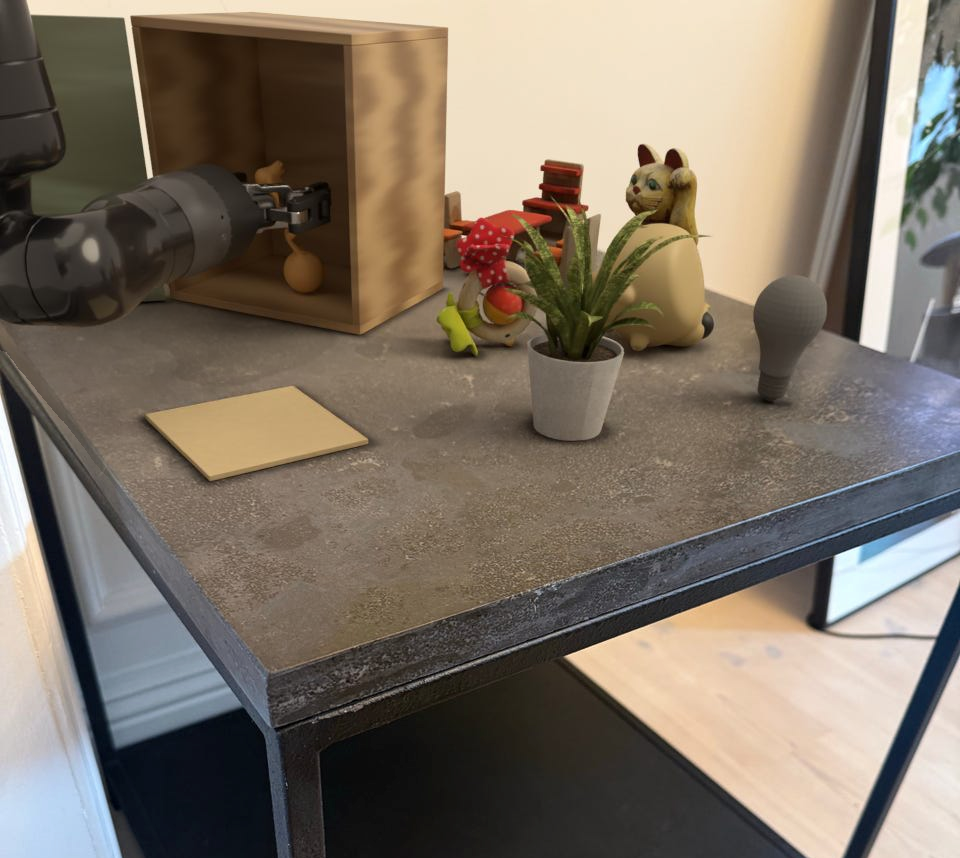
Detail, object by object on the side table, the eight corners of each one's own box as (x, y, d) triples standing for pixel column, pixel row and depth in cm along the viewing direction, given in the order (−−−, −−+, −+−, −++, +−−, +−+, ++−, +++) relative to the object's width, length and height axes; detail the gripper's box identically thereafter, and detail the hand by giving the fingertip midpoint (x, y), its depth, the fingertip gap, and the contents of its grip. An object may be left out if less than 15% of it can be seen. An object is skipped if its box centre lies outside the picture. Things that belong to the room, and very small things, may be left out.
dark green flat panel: (-75, 294, 91) (-159, 4, 78) (157, 281, 98) (117, 13, 85) (-80, 315, 86) (-171, 8, 73) (165, 300, 93) (124, 18, 80)
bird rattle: (494, 355, 91) (411, 322, 87) (547, 243, 86) (461, 201, 82) (516, 379, 86) (429, 345, 82) (573, 261, 81) (484, 218, 77)
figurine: (333, 303, 93) (326, 168, 86) (271, 306, 91) (259, 169, 84) (317, 279, 99) (310, 152, 92) (259, 282, 97) (247, 153, 90)
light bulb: (815, 412, 77) (849, 285, 71) (753, 414, 76) (782, 286, 70) (784, 387, 82) (813, 266, 76) (724, 389, 80) (749, 267, 75)
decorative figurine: (595, 295, 102) (612, 139, 93) (648, 285, 106) (670, 135, 97) (660, 319, 96) (685, 155, 87) (714, 308, 100) (743, 150, 91)
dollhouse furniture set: (410, 265, 108) (410, 171, 103) (489, 235, 122) (493, 151, 116) (559, 295, 101) (568, 195, 96) (626, 260, 115) (638, 171, 109)
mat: (145, 419, 70) (144, 413, 70) (293, 390, 76) (292, 385, 76) (209, 481, 62) (209, 476, 62) (368, 444, 68) (368, 438, 68)
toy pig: (671, 396, 88) (756, 313, 87) (611, 308, 80) (705, 214, 79) (616, 358, 95) (694, 281, 94) (556, 273, 87) (641, 186, 86)
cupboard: (360, 335, 88) (351, 34, 74) (169, 298, 94) (129, 15, 80) (442, 288, 101) (448, 27, 88) (271, 259, 108) (252, 11, 94)
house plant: (678, 403, 77) (716, 186, 68) (676, 475, 66) (721, 226, 57) (506, 384, 79) (520, 169, 70) (476, 451, 68) (487, 206, 58)
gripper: (262, 181, 72) (352, 152, 85) (103, 162, 75) (212, 136, 88) (270, 282, 76) (355, 240, 89) (119, 260, 80) (222, 222, 92)
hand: (284, 189), depth 89 cm, fingers open, 8 cm apart
